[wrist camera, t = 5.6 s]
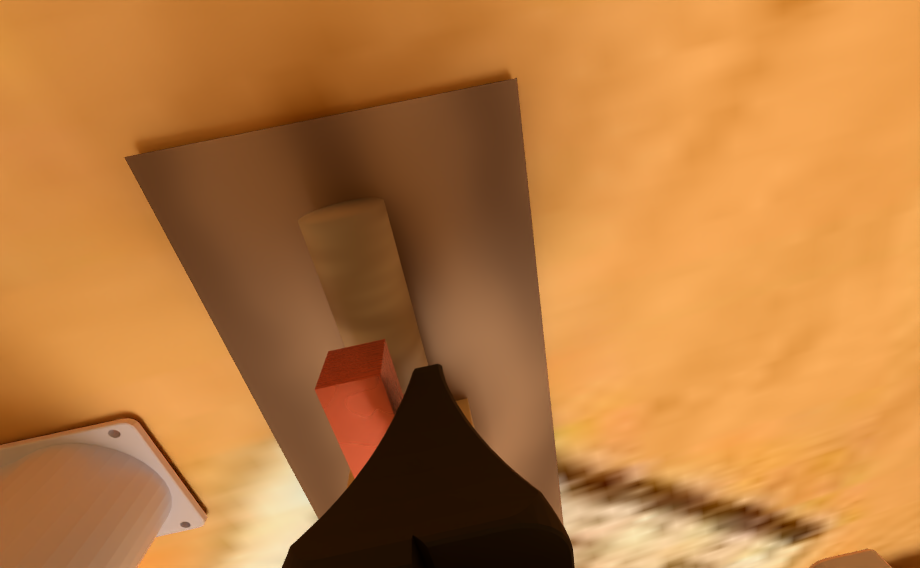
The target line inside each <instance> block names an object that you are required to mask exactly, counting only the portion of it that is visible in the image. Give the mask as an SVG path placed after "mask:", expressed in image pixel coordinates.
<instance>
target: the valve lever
mask: <svg viewBox="0 0 920 568" xmlns="http://www.w3.org/2000/svg"><path fill="white" fill-rule="evenodd" d="M315 392H316V394H317V396H318V399H319V401H320V403H321V405H322V407H323V410H324V412H325V414H326V416H327V419H328V421H329V423H330V425H331V427H332V430H333V432H334V434H335V436H336V439H337V441H338V443H339V445H340V447H341V450H342V452H343V454H344V456H345V459H346V461H347V463H348V465H349V467H350V470H351V472H352V474H353V476H354V479H355V478H356V476H357V475H358V474H359V472H360V471H361V470H362V468H363V467H364V466H365V464H366V463H367V461H368V460H369V458H370V457H371V455H372V454H373V452H374V451H375V449H376V448H377V446H378V445H379V443H380V441H381V440H382V438H383V436H384V435H385V433H386V431H387V429H388V427H389V425H390V423H391V422H392V420H393V418H394V416H395V414H396V412H397V410H398V407H399V405H400V403H401V401H402V399H403V393H402V390H401V387H400V383H399V380H398V377H397V374H396V371H395V368H394V365H393V362H392V359H391V356H390V353H389V350H388V346H387V343H386V340H385V339H382V340H378V341H373V342H369V343H364V344H359V345H355V346H350V347H346V348H341V349H337V350H332V351H328V353H327V356H326V359H325V362H324V365H323V367H322V370H321V373H320V376H319V379H318V381H317V384H316V387H315Z"/></svg>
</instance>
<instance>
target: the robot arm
mask: <svg viewBox="0 0 920 568" xmlns="http://www.w3.org/2000/svg"><path fill="white" fill-rule="evenodd" d="M206 519H207V515H206V514H205V512H204V511H203V510H202V508H201V507H200V505H199V504H198V503H197V501H196V500H195V499H194V497H193V496H192V494H191V493H190V492H189V490H188V489H187V488H186V486H185V485H184V484H183V482H182V481H181V479H180V478H179V477H178V475H177V474H176V473H175V471H174V470H173V468H172V467H171V466H170V464H169V463H168V462H167V460H166V459H165V458H164V456H163V455H162V453H161V452H160V451H159V449H158V448H157V447H156V445H155V444H154V442H153V441H152V440H151V438H150V437H149V436H148V434H147V433H146V432H145V430H144V429H143V427H142V426H141V425H140V423H139V422H138V421H136V420H134V419H130V418H124V419H119V420H115V421H110V422H105V423H101V424H96V425H91V426H87V427H82V428H77V429H73V430H68V431H63V432H59V433H54V434H49V435H45V436H40V437H35V438H31V439H26V440H22V441H17V442H12V443H8V444H3V445H0V568H137V567H138V565H139V564H140V562H141V560H142V559H143V557H144V555H145V554H146V552H147V550H148V549H149V547H150V546H151V544H152V542H153V541H154V539H155V537H158V536H163V535H167V534H172V533H176V532H181V531H186V530H190V529H195V528H199V527H201V526H203V525H204V523H205V521H206ZM282 568H575V567H574V556H573V548H572V544H571V541H570V538H569V536H568V534H567V532H566V530H565V528H564V526H563V524H562V523H561V521H560V519H559V517H558V516H557V514H556V513H555V511H554V510H553V508H552V507H551V505H550V504H549V502H548V501H547V500H546V498H545V497H544V495H543V494H542V492H541V491H539V490H538V489H537V488H535V487H534V486H533V485H531V484H530V483H529V482H528V481H526V480H525V479H524V478H523V477H521V476H520V475H519V474H518V473H517V472H515V471H514V470H513V469H512V468H511V467H510V466H509V465H508V464H507V463H505V462H504V461H503V460H502V459H501V458H500V457H499V456H498V455H497V454H496V453H495V452H494V451H493V450H492V449H491V448H490V447H489V445H488V444H487V443H486V442H485V441H484V440H483V439H482V437H481V436H480V435H479V434H478V433H477V431H476V430H475V429H474V428H473V426H472V425H471V424H470V422H469V421H468V419H467V418H466V416H465V415H464V413H463V412H462V411H461V409H460V407H459V406H458V404H457V402H456V401H455V399H454V397H453V395H452V393H451V392H450V390H449V387H448V385H447V383H446V380H445V376H444V372H443V368H442V365H440V364H434V365H429V366H424V367H420V368H415V369H414V371H413V373H412V376H411V379H410V381H409V384H408V387H407V389H406V392H405V394H404V396H403V399H402V401H401V403H400V405H399V407H398V410H397V412H396V414H395V416H394V418H393V420H392V422H391V423H390V425H389V427H388V429H387V431H386V433H385V435H384V436H383V438H382V440H381V441H380V443H379V445H378V446H377V448H376V449H375V451H374V452H373V454H372V455H371V457H370V458H369V460H368V461H367V463H366V464H365V466H364V467H363V468H362V470H361V471H360V472H359V474H358V475H357V476H356V478H355V479H354V480H353V482H352V483H351V484H350V485H349V487H348V488H347V489H346V490H345V491H344V493H343V494H342V495H341V496H340V497H339V498H338V499H337V501H336V502H335V503H334V504H333V505H332V506H331V507H330V508H329V509H328V510H327V512H326V513H325V514H324V515H323V516H322V517H321V518H320V519H319V520H318V521H317V522H316V523H315V524H314V525H313V526H311V527H310V528H309V529H308V530H307V531H306V532H305V533H304V534H303V535H302V536H301V537H300V538H299V539H298V540H297V541H296V542H295V543H294V544H292V545H291V546H290V549H289V551H288V554H287V557H286V559H285V561H284V564H283V566H282ZM810 568H892V567H891V566H890V565H889V564H888V563H887V562H886V561H885V560H884V559H883V558H882V557H881V556H880V555H879V554H878V553H877V552H876V551H874V550H870V549H865V550H861V551H856V552H852V553H847V554H843V555H838V556H834V557H829V558H825V559H822V560H820V561H817V562H816V563H814V564H813V565H811V566H810Z"/></svg>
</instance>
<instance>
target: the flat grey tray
mask: <svg viewBox="0 0 920 568" xmlns="http://www.w3.org/2000/svg"><path fill="white" fill-rule="evenodd" d="M125 159H126V161H127V163H128V165H129V167H130V168H131V170H132V172H133V174H134V176H135V178H136V180H137V181H138V183H139V185H140V187H141V189H142V191H143V193H144V195H145V196H146V198H147V200H148V202H149V204H150V206H151V208H152V209H153V211H154V213H155V215H156V217H157V219H158V221H159V222H160V224H161V226H162V228H163V230H164V232H165V234H166V235H167V237H168V239H169V241H170V243H171V245H172V247H173V249H174V250H175V252H176V254H177V256H178V258H179V260H180V262H181V263H182V265H183V267H184V269H185V271H186V273H187V275H188V276H189V278H190V280H191V282H192V284H193V286H194V288H195V289H196V291H197V293H198V295H199V297H200V299H201V301H202V303H203V304H204V306H205V308H206V310H207V312H208V314H209V316H210V317H211V319H212V321H213V323H214V325H215V327H216V329H217V330H218V332H219V334H220V336H221V338H222V340H223V342H224V343H225V345H226V347H227V349H228V351H229V353H230V355H231V357H232V358H233V360H234V362H235V364H236V366H237V368H238V370H239V371H240V373H241V375H242V377H243V379H244V381H245V383H246V384H247V386H248V388H249V390H250V392H251V394H252V396H253V398H254V399H255V401H256V403H257V405H258V407H259V409H260V411H261V412H262V414H263V416H264V418H265V420H266V422H267V424H268V425H269V427H270V429H271V431H272V433H273V435H274V437H275V438H276V440H277V442H278V444H279V446H280V448H281V450H282V452H283V453H284V455H285V457H286V459H287V461H288V463H289V465H290V466H291V468H292V470H293V472H294V474H295V476H296V478H297V479H298V481H299V483H300V485H301V487H302V489H303V491H304V492H305V494H306V496H307V498H308V500H309V502H310V504H311V506H312V507H313V509H314V511H315V513H316V515H317V517H318V519H320V518H321V517H322V516H323V515H324V514H325V513H326V512H327V510H328V509H329V508H330V507H331V506H332V505H333V504H334V503H335V502H336V501H337V499H338V498H339V497H340V496H341V495H342V494H343V493H344V491H345V490H346V489H347V488H348V487H349V485H350V484H351V483H352V482H353V480H354V476H353V474H352V472H351V470H350V467H349V465H348V463H347V461H346V459H345V456H344V454H343V452H342V450H341V447H340V445H339V443H338V441H337V439H336V436H335V434H334V432H333V430H332V427H331V425H330V423H329V421H328V419H327V416H326V414H325V412H324V410H323V407H322V405H321V403H320V401H319V399H318V396H317V394H316V392H315V387H316V384H317V381H318V379H319V376H320V373H321V370H322V367H323V365H324V362H325V359H326V356H327V353H328V351H332V350H337V349H341V348H346V347H350V346H355V345H359V344H364V343H369V342H373V341H378V340H382V339H385V340H386V343H387V346H388V350H389V353H390V356H391V359H392V362H393V365H394V368H395V371H396V374H397V377H398V380H399V383H400V387H401V390H402V393H403V396H404V394H405V392H406V389H407V387H408V384H409V381H410V379H411V376H412V373H413V371H414V369H415V368H420V367H424V366H429V365H434V364H440V365H442V368H443V372H444V376H445V380H446V383H447V385H448V387H449V390H450V392H451V393H452V395H453V397H454V399H455V401H456V402H457V404H458V406H459V407H460V409H461V411H462V412H463V413H464V415H465V416H466V418H467V419H468V421H469V422H470V424H471V425H472V426H473V428H474V429H475V430H476V431H477V433H478V434H479V435H480V436H481V437H482V439H483V440H484V441H485V442H486V443H487V444H488V445H489V447H490V448H491V449H492V450H493V451H494V452H495V453H496V454H497V455H498V456H499V457H500V458H501V459H502V460H503V461H504V462H505V463H507V464H508V465H509V466H510V467H511V468H512V469H513V470H514V471H515V472H517V473H518V474H519V475H520V476H521V477H523V478H524V479H525V480H526V481H528V482H529V483H530V484H531V485H533V486H534V487H535V488H537V489H538V490H539V491H541V492H542V494H543V495H544V497H545V498H546V500H547V501H548V502H549V504H550V505H551V507H552V508H553V510H554V511H555V513H556V514H557V516H558V517H559V519H560V521H561V523H562V524H563V517H562V507H561V498H560V488H559V479H558V469H557V459H556V450H555V440H554V431H553V421H552V411H551V402H550V392H549V383H548V373H547V363H546V354H545V344H544V335H543V325H542V315H541V306H540V296H539V287H538V277H537V267H536V258H535V248H534V239H533V229H532V220H531V210H530V200H529V191H528V181H527V172H526V162H525V152H524V143H523V133H522V124H521V114H520V104H519V95H518V85H517V78H515V79H510V80H505V81H500V82H495V83H490V84H485V85H480V86H475V87H470V88H465V89H460V90H455V91H451V92H446V93H441V94H436V95H431V96H426V97H421V98H416V99H411V100H406V101H401V102H396V103H391V104H386V105H381V106H376V107H371V108H366V109H361V110H356V111H351V112H346V113H341V114H337V115H332V116H327V117H322V118H317V119H312V120H307V121H302V122H297V123H292V124H287V125H282V126H277V127H272V128H267V129H262V130H257V131H252V132H247V133H242V134H237V135H232V136H227V137H223V138H218V139H213V140H208V141H203V142H198V143H193V144H188V145H183V146H178V147H173V148H168V149H163V150H158V151H153V152H148V153H143V154H138V155H133V156H128V157H125Z"/></svg>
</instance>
